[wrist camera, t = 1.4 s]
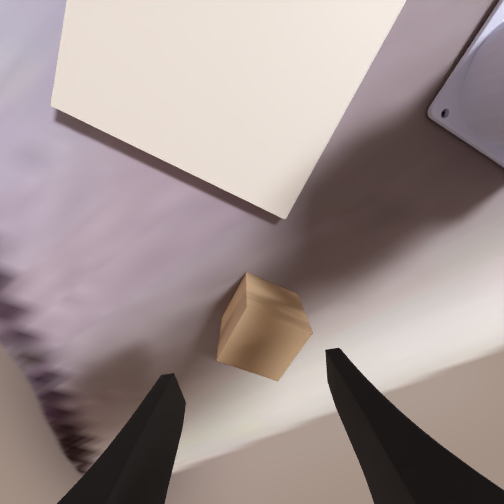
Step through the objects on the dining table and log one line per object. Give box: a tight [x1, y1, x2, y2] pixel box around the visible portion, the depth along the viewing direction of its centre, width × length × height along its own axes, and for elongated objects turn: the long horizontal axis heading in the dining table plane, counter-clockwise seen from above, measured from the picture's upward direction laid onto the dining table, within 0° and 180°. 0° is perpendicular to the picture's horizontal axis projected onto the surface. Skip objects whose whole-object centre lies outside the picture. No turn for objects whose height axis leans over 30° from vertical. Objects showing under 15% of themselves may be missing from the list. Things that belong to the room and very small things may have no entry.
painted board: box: [50, 0, 406, 220], centre depth 14 cm, size 16×14×1 cm
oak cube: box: [216, 272, 313, 381], centre depth 19 cm, size 5×5×5 cm
